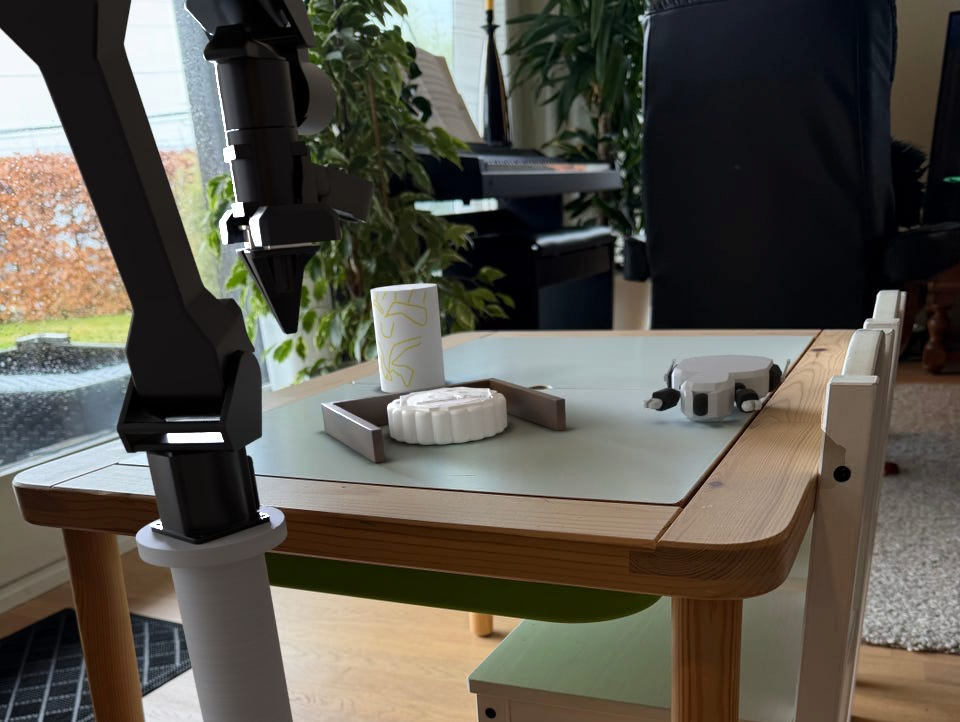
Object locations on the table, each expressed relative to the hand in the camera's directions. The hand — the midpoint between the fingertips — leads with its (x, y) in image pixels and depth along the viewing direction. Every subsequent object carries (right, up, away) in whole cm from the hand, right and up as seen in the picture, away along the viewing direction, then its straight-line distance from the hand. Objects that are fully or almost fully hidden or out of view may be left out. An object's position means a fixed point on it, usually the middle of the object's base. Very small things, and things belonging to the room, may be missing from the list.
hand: (290, 333), depth 85 cm
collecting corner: (+13, -5, +15) cm, 20 cm away
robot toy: (+40, -4, +15) cm, 43 cm away
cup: (+8, +6, +40) cm, 41 cm away
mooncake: (+13, -5, +15) cm, 21 cm away
